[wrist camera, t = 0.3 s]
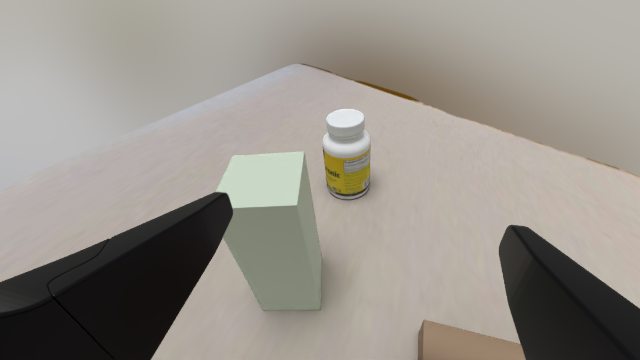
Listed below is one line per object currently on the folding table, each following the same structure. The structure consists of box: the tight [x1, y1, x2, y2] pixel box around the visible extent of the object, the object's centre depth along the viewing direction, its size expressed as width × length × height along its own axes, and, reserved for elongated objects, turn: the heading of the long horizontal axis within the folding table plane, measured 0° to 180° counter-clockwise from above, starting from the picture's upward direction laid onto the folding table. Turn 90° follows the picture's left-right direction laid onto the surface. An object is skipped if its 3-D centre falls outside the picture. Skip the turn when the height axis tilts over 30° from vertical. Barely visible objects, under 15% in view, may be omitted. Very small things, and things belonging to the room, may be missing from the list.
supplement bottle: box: [323, 109, 371, 199], centre depth 31 cm, size 5×5×10 cm
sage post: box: [216, 151, 322, 310], centre depth 21 cm, size 5×5×13 cm
